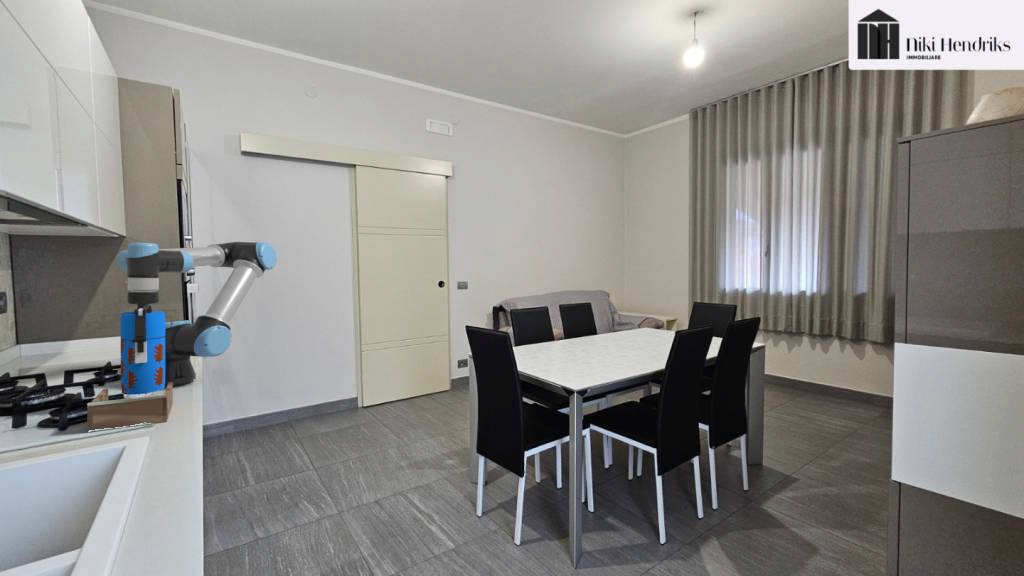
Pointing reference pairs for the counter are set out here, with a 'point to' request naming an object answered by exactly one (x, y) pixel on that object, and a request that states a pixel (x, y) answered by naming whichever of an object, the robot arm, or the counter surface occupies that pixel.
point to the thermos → (153, 371)
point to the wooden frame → (128, 410)
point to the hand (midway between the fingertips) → (143, 359)
